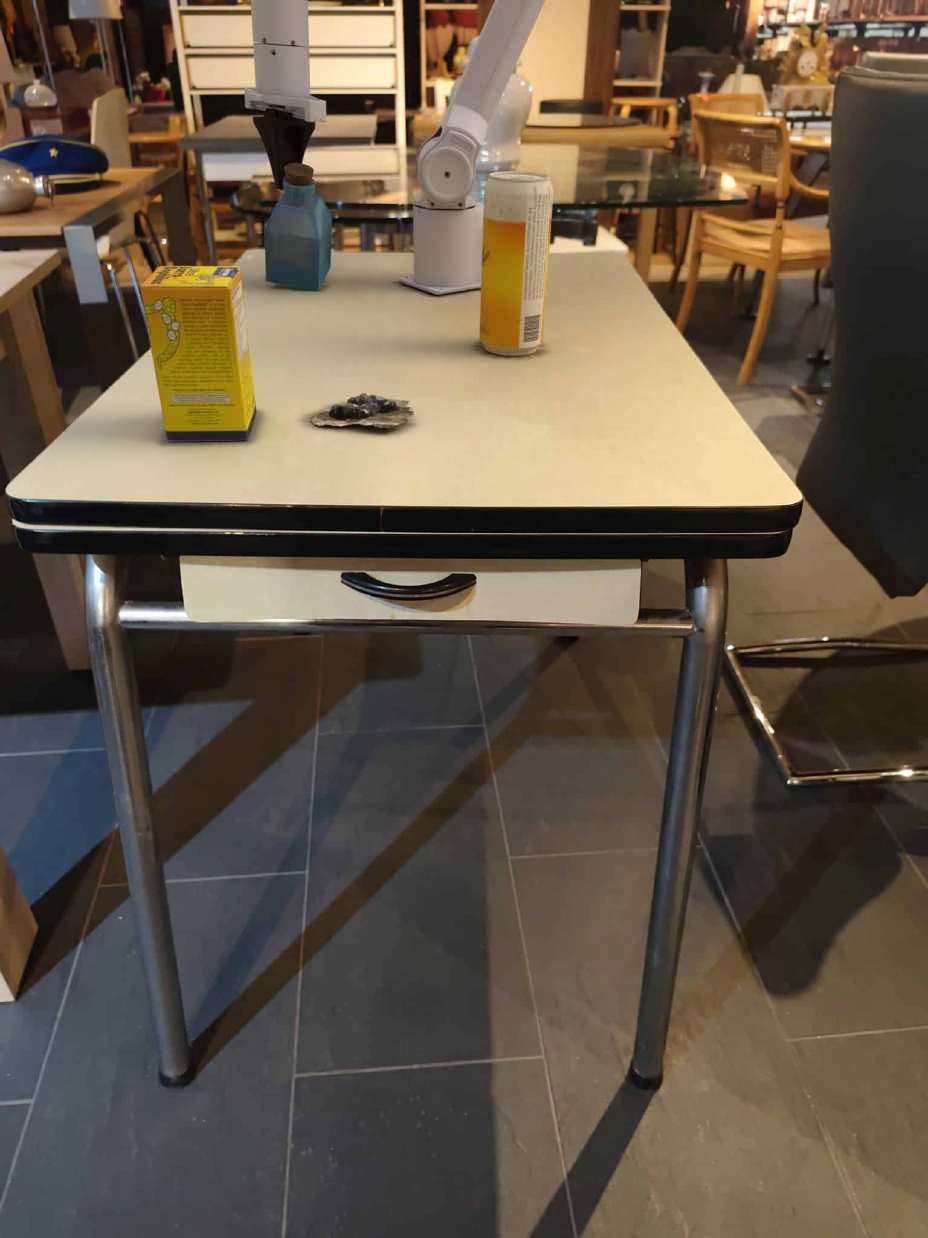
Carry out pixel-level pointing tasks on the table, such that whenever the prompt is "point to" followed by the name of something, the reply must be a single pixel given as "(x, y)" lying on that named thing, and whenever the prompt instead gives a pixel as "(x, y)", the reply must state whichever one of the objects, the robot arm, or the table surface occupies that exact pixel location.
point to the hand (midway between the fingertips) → (287, 188)
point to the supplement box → (200, 352)
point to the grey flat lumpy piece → (365, 412)
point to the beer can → (515, 261)
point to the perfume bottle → (298, 233)
